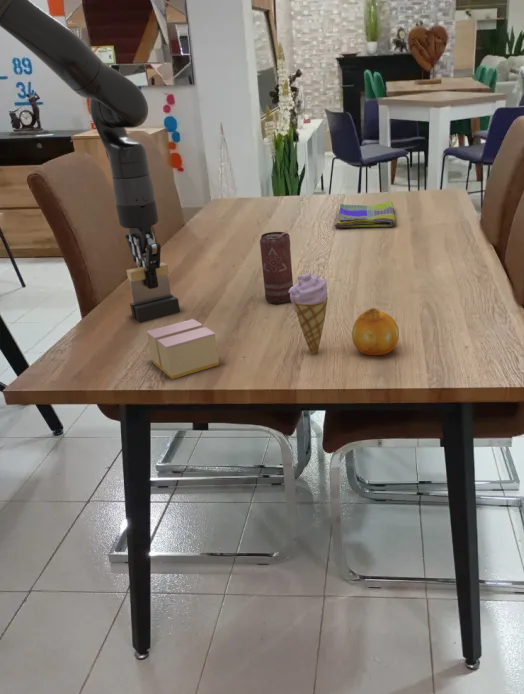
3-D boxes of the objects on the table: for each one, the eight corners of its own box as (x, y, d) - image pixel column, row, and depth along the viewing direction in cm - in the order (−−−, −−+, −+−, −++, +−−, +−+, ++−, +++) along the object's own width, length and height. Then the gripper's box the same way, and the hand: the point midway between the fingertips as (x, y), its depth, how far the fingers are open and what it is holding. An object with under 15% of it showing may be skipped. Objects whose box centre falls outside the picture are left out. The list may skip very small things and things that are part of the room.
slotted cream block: (171, 379, 117) (166, 346, 114) (152, 362, 124) (146, 331, 121) (219, 364, 121) (215, 333, 118) (198, 349, 128) (193, 318, 125)
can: (300, 299, 148) (295, 234, 141) (274, 306, 145) (268, 240, 138) (286, 292, 153) (281, 228, 146) (260, 299, 150) (254, 234, 143)
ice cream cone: (293, 360, 121) (286, 277, 114) (293, 346, 126) (286, 266, 119) (331, 357, 121) (326, 274, 114) (329, 344, 127) (325, 263, 119)
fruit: (345, 349, 118) (368, 309, 115) (342, 335, 125) (364, 296, 122) (386, 370, 120) (410, 331, 117) (382, 355, 127) (404, 317, 124)
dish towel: (395, 208, 217) (395, 199, 215) (395, 228, 196) (395, 218, 194) (339, 210, 218) (339, 201, 217) (333, 230, 198) (333, 220, 196)
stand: (139, 322, 142) (137, 308, 140) (132, 316, 145) (129, 303, 143) (180, 311, 146) (178, 298, 144) (172, 306, 149) (170, 293, 147)
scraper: (138, 315, 142) (130, 272, 138) (134, 312, 144) (126, 270, 139) (174, 306, 146) (167, 264, 141) (170, 303, 147) (163, 262, 143)
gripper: (104, 197, 137) (121, 282, 146) (128, 208, 127) (145, 298, 135) (140, 191, 140) (155, 274, 149) (167, 201, 130) (180, 290, 139)
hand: (150, 285), depth 142 cm, fingers closed on scraper, 2 cm apart
